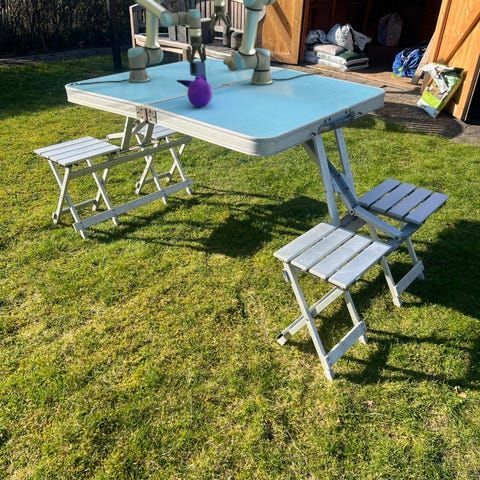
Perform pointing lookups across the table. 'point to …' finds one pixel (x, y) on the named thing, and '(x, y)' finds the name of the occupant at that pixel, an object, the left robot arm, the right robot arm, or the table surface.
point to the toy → (198, 91)
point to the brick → (198, 69)
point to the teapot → (230, 62)
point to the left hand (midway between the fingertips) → (197, 72)
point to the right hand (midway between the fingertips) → (220, 37)
